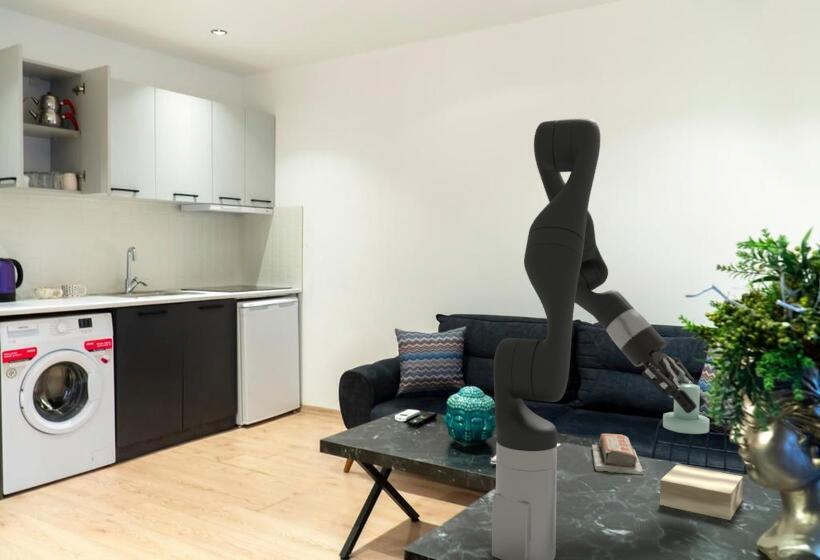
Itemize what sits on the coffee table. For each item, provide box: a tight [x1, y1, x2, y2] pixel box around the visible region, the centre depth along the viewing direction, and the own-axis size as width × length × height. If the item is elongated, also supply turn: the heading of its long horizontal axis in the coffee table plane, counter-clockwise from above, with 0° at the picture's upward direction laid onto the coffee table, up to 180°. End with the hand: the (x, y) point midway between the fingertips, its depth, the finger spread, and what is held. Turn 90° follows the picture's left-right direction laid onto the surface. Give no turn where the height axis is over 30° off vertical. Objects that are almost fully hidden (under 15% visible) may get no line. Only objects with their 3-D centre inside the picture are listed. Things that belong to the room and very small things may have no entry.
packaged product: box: [591, 433, 644, 475], centre depth 150 cm, size 18×5×10 cm
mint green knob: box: [662, 383, 710, 435], centre depth 123 cm, size 8×8×8 cm
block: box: [659, 464, 744, 521], centre depth 124 cm, size 12×12×5 cm
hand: (697, 407), depth 121 cm, fingers closed on mint green knob, 4 cm apart
